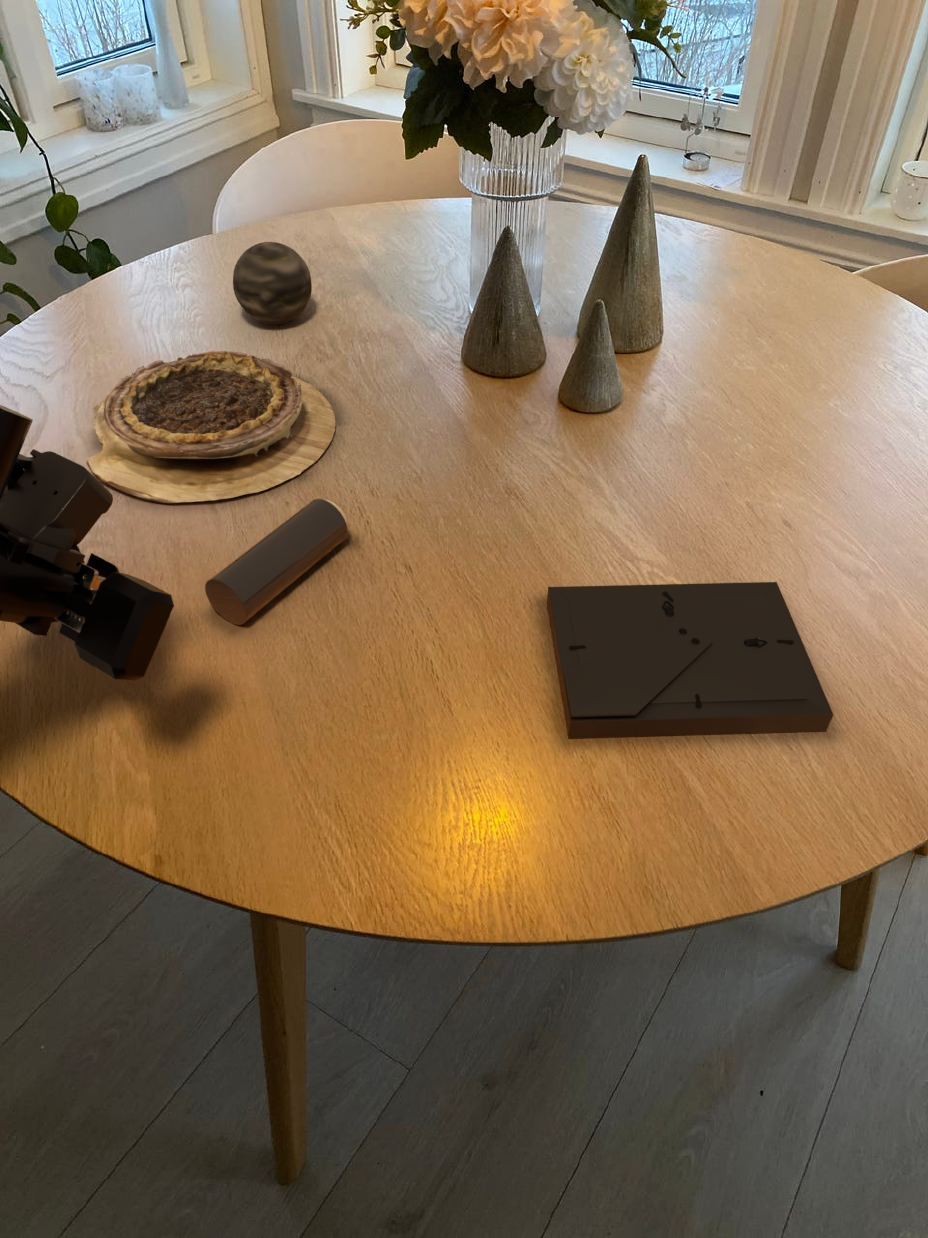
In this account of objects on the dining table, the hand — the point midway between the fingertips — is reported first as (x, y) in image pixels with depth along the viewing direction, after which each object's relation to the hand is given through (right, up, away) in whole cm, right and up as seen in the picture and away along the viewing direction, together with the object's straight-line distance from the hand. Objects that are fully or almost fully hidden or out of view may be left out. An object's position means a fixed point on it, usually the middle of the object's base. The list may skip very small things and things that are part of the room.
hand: (136, 601), depth 73 cm
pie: (-3, +19, +34) cm, 39 cm away
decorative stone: (0, +38, +54) cm, 66 cm away
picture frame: (+43, -5, +9) cm, 44 cm away
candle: (+4, 0, +10) cm, 11 cm away
